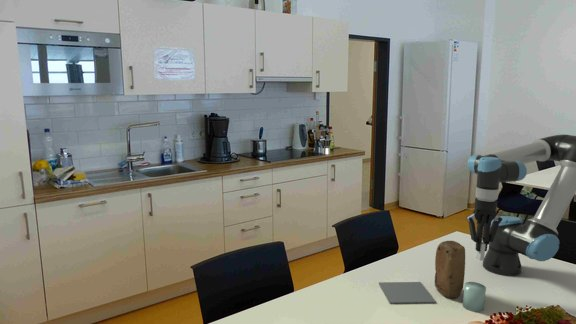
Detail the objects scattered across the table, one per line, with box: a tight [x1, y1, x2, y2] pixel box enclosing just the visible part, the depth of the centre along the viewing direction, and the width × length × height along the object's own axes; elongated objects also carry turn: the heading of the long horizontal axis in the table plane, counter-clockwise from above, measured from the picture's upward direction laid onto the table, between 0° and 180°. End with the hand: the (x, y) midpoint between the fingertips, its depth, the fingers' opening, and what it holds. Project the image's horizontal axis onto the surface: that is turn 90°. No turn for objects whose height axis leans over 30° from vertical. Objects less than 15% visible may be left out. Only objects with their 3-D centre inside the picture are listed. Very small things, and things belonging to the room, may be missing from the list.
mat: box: [378, 281, 437, 305], centre depth 164 cm, size 17×16×1 cm
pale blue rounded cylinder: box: [462, 281, 487, 313], centre depth 154 cm, size 7×7×8 cm
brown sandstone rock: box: [434, 240, 466, 299], centre depth 163 cm, size 11×8×20 cm
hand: (480, 259), depth 163 cm, fingers closed
